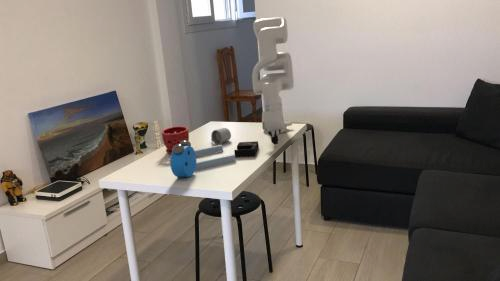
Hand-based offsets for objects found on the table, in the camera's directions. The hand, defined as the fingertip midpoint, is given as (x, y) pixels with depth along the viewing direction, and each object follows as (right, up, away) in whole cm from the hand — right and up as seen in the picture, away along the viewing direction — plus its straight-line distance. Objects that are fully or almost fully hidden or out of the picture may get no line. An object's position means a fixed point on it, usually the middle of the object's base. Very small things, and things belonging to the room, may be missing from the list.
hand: (275, 143), depth 221 cm
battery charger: (-14, -5, -6) cm, 16 cm away
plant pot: (-48, -5, +6) cm, 49 cm away
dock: (-30, -7, -10) cm, 33 cm away
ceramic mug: (-28, 0, +16) cm, 32 cm away
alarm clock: (-40, -14, -29) cm, 51 cm away
